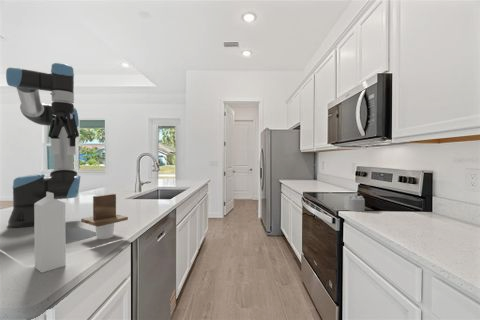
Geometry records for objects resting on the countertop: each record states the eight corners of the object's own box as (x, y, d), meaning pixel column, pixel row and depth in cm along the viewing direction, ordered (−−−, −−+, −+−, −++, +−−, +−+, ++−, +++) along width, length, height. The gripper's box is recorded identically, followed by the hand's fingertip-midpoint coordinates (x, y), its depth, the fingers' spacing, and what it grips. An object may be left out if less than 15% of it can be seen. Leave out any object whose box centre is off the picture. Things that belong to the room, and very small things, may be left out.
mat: (40, 236, 103) (40, 234, 103) (78, 228, 115) (78, 226, 115) (63, 245, 92) (63, 244, 92) (102, 235, 104) (102, 234, 104)
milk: (58, 261, 79) (58, 190, 79) (65, 266, 75) (66, 192, 75) (33, 267, 74) (34, 192, 74) (40, 273, 71) (40, 194, 70)
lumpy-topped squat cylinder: (358, 207, 165) (359, 194, 165) (368, 211, 152) (368, 197, 152) (342, 207, 165) (342, 194, 165) (351, 211, 152) (351, 197, 152)
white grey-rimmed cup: (106, 241, 97) (106, 223, 97) (90, 240, 98) (90, 222, 98) (118, 236, 103) (118, 219, 103) (103, 235, 105) (103, 218, 105)
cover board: (81, 221, 99) (81, 195, 99) (111, 215, 109) (111, 192, 109) (97, 226, 92) (97, 198, 92) (127, 219, 102) (127, 194, 102)
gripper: (38, 103, 108) (39, 153, 109) (68, 98, 95) (68, 155, 96) (58, 106, 114) (58, 153, 115) (88, 102, 101) (88, 155, 102)
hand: (63, 154), depth 105 cm, fingers open, 13 cm apart
